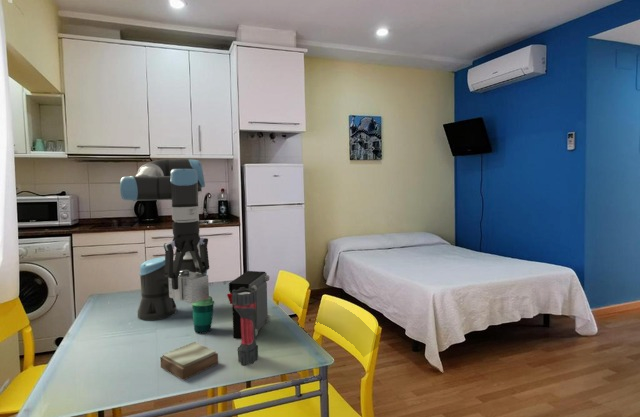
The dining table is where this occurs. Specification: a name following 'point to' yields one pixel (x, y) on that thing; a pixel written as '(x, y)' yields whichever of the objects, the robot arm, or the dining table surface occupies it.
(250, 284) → the electrical component
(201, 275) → the housing
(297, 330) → the dining table surface
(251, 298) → the flashlight
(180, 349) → the stand
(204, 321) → the cup
